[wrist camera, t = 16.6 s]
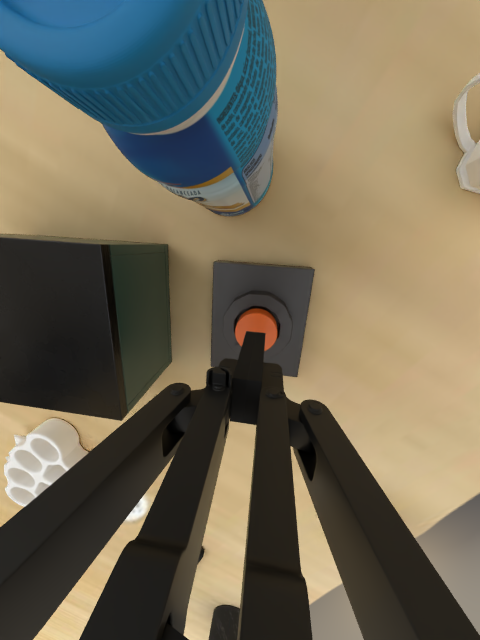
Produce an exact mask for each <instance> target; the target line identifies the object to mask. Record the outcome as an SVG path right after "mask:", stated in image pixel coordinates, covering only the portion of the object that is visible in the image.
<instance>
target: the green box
mask: <svg viewBox="0 0 480 640" xmlns="http://www.w3.org/2000/svg"><path fill="white" fill-rule="evenodd" d="M0 236H1V237H15V238H29V239H42V240H56V241H70V242H84V243H98V244H108V245H109V250H110V259H111V268H112V277H113V286H114V295H115V305H116V314H117V323H118V332H119V341H120V350H121V359H122V368H123V378H124V387H125V396H126V405H127V413H129V412H130V410H131V409H132V408H133V407H134V406H135V404H136V403H137V402H138V401H139V400H140V399H141V397H142V396H143V395H144V394H145V393H146V391H147V390H148V389H149V388H150V387H151V386H152V384H153V383H154V382H155V381H156V380H157V379H158V377H159V376H160V375H161V374H162V373H163V371H164V370H165V369H166V368H167V367H168V366H169V364H170V363H171V362H172V357H171V327H170V297H169V267H168V244H155V243H141V242H127V241H112V240H98V239H83V238H69V237H55V236H40V235H21V234H0Z"/></svg>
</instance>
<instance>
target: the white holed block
mask: <svg viewBox="0 0 480 640" xmlns="http://www.w3.org/2000/svg"><path fill="white" fill-rule="evenodd" d="M14 437H15V442H16V446H15V447H14V448H13V449H12V450H11V451H10V452H9V456H7V457H6V459H7V461H8V462H7V463H5V465H4V474H5V476H6V477H7V480H8V486H7V487H6V488H5V491H6V493H7V495H8V496H9V497H10V498H11V499H12V500H13V501H14V502H16V503H17V504H19V505H21V506H24V507H25V506H26V505H28V504H29V503H30V502H31V501H32V500H33V499H35V498H36V497H37V496H38V495H39V494H41V493H42V492H43V491H44V490H45V489H47V488H48V487H49V486H50V485H51V484H52V483H54V482H55V481H56V480H57V479H58V478H60V477H61V476H62V475H63V474H64V473H65V472H67V471H68V470H69V469H70V468H71V467H73V466H74V465H75V464H76V463H77V462H78V461H80V460H81V459H82V458H83V457H84V456H86V455H87V454H88V453H89V452H88V451H86V450H84V449H83V448H82V446H81V445H80V443H79V435H78V433H77V431H76V430H75V428H74V427H73V426H72V425H71V424H69V423H68V422H66V421H64V420H62V419H58V418H51V419H48V420H46V421H44V422H43V423H42V424H41V425H39V426H38V427H37V428H35V429H34V430H33V431H32V432H30V433H29V434H28V435H27V436H22V435H15V434H14Z"/></svg>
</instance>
